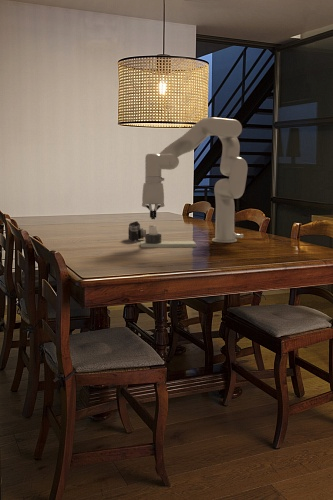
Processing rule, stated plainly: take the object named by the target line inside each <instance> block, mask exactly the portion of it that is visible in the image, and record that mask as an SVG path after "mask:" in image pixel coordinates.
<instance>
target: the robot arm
mask: <svg viewBox="0 0 333 500" xmlns="http://www.w3.org/2000/svg"><path fill="white" fill-rule="evenodd" d="M242 131H243V125H242V124H241V122H240V121H239V120H237V119H233V118H232V119H231V118H222V117H203V118H202V119H200V120H199V121H197V122H196V123H195V124H194V125H192V127H191V128H189V130H188V131H186V132H185V133H184V134H183V135H182V136H180V137H178V139H176V140H174V141H173V142H171V143H170V144H168V145H167V146H166V147H165V148H164V149H163V150H162V151H160V152H159V153H147V154H145V162H144V163H145V165H144V167H145V169H144V170H145V173H144V174H145V182H144V183H143V187H142V194H141V195H142V196H141V197H142V201H141V202H142V204H141V206H142V207H144V208H146V209H148V211H149V218H150V219H151V220H155V219H156V218H157V211H158V210H159V209H160V208H164V207H165V192H164V183H163V182H164V181H165V177H162V170H168V171H169V170H171V171H172V170H174V169H176V168H177V167H178V166H179V164H180V159H179V157H180V156H182V155H185V154H187V153H190V152H192V151H193V150H195V149H196V148H198V147H199V146H200V145H201V144H202V143H203V142H204V141H205V140H206V139H207V138H208V137H210V136H214V137H215V136H216V137H218V138H219V141H220V142H221V144H222V153H221V158H220V165H219V171H220V173H221V174H222V175H223V176H226V177H228V178H221V179H219V180H218V181H216V182H215V185H214V188H213V189H214V191H213V192H214V193H213V194H214V197H215V198H214V199H215V223H214V225H215V226H214V227H215V228H214V229H215V231H214V234H215V235H214V236H215V237H213V238H212V239H211V241H212V242H214V243H225V244H227V243H228V244H230V243H236V242H237V241H238V238H239V239H242V238H243V239H244V234H243V233H236V232H235V213H236V212H235V209H236V207H235V200H234V199H240V198H241V197H242V196H243V194H244V193H245V189H246V183H247V176H248V169H249V167H248V163H247V161H246V160H245V159H244V158H242V157H240V152H241V151H240V149H241V146H240V141H239V139H238V137H239V136H240V135H241V134H242ZM152 205H154V208H153V207H152Z"/></svg>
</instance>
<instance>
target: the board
mask: <svg viewBox="0 0 333 500" xmlns="http://www.w3.org/2000/svg"><path fill="white" fill-rule="evenodd" d="M140 247H141V248H197V243H196V242H195V241H194V240H171V241H170V240H165V241H163V240H161V243H159V244H148V243H145V240H143V241H142V240H141V241H140Z"/></svg>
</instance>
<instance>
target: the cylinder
mask: <svg viewBox="0 0 333 500" xmlns="http://www.w3.org/2000/svg"><path fill="white" fill-rule="evenodd" d="M148 234H149V235H158V234H159V225H154V224H153V225H148Z"/></svg>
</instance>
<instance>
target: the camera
mask: <svg viewBox="0 0 333 500" xmlns="http://www.w3.org/2000/svg"><path fill="white" fill-rule="evenodd" d="M127 234H128V241H130V243H132V244H133V243H134V244H136V243H139V240H141V239H142V240H143V239H145V234H147V231H146V229H144V228H142V227H141V224H140V223H139V222H138V221H137V220H136V221H133V222H130V223H129V224H128V233H127Z"/></svg>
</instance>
